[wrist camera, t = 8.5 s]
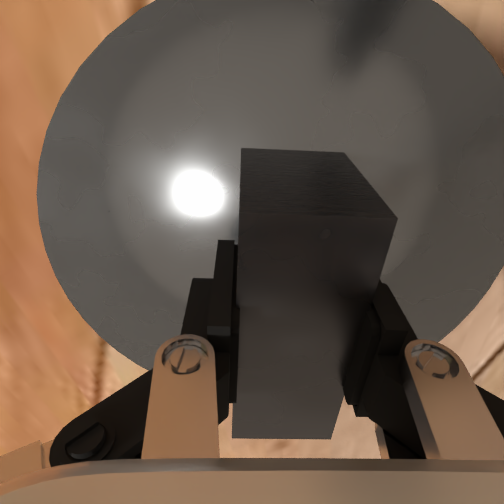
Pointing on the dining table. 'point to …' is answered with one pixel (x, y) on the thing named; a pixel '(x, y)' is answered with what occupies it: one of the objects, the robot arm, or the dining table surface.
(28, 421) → the dining table surface
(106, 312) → the lid
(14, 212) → the dining table surface
